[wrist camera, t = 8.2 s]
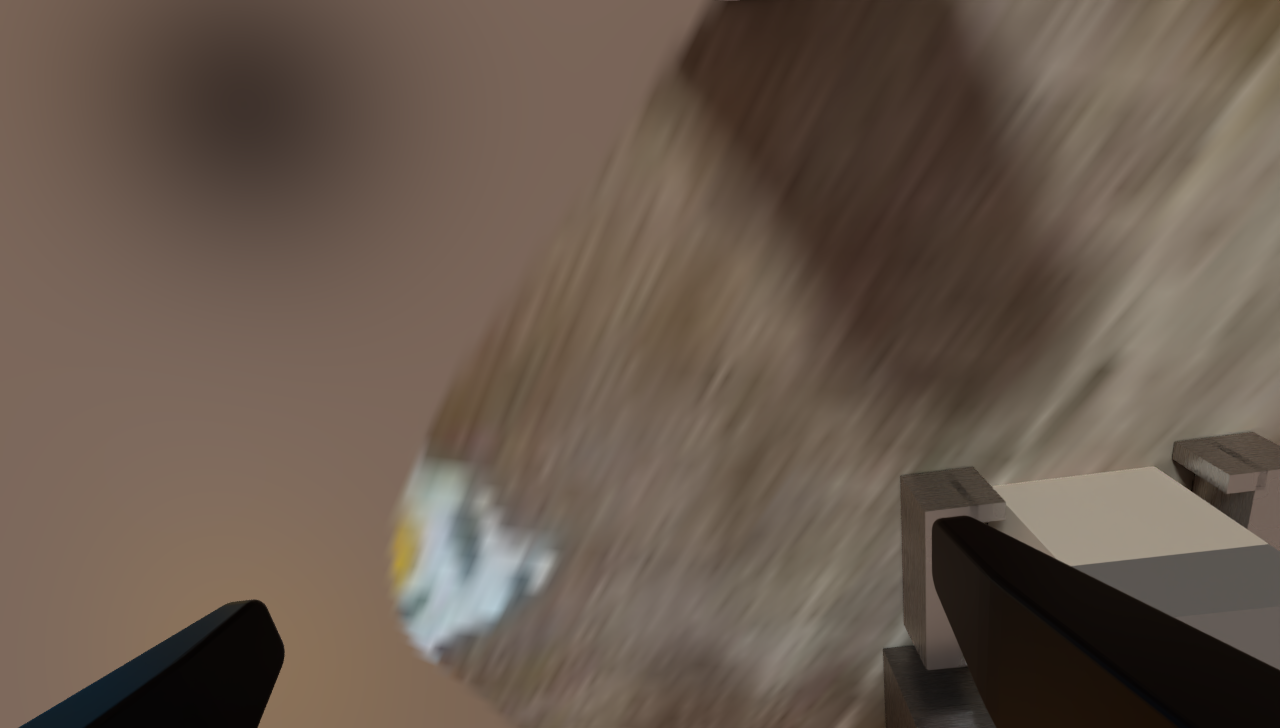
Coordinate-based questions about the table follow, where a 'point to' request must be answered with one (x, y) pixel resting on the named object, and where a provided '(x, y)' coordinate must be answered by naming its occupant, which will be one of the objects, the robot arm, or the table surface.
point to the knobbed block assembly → (935, 667)
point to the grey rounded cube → (1156, 550)
